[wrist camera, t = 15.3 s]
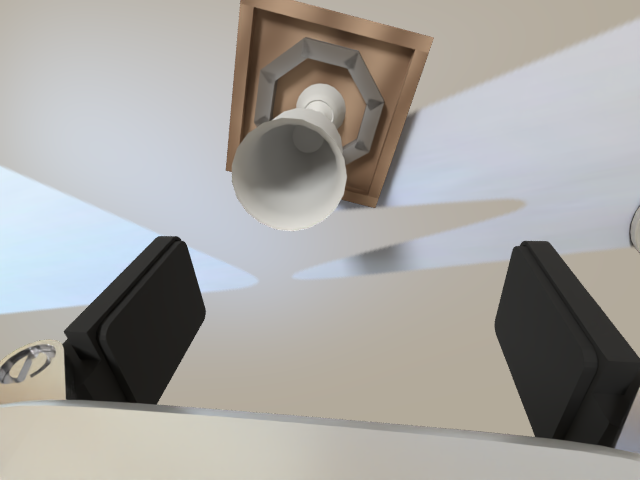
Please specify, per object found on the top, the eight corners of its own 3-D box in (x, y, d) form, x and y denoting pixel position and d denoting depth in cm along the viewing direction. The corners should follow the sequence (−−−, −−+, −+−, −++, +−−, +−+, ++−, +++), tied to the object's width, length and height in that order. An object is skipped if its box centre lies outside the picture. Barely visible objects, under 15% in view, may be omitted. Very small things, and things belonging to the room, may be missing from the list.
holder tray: (430, 36, 33) (434, 37, 31) (374, 199, 42) (375, 209, 40) (248, -12, 33) (240, -14, 31) (232, 163, 42) (224, 171, 40)
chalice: (329, 157, 39) (305, 249, 24) (274, 122, 38) (212, 195, 23) (369, 98, 36) (371, 161, 21) (310, 56, 34) (266, 91, 19)
